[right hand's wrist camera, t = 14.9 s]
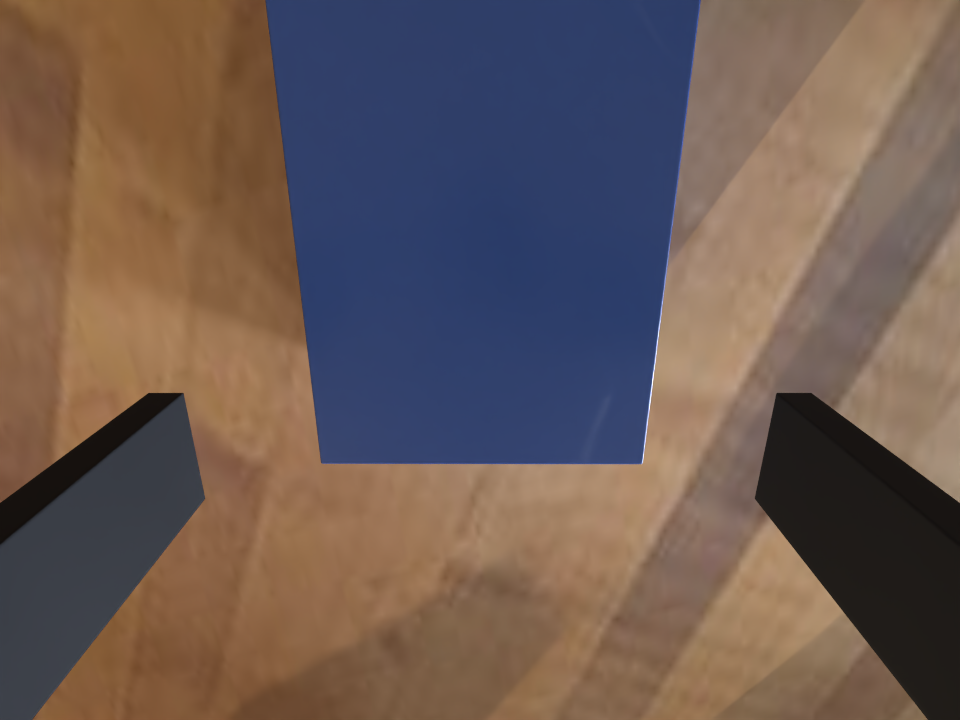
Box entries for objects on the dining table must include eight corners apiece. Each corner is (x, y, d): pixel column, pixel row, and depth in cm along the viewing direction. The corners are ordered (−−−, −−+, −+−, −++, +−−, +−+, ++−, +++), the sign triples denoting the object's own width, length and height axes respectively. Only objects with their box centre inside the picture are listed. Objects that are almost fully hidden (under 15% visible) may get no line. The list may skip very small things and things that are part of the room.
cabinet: (332, -91, 19) (234, -241, 12) (633, -91, 19) (732, -241, 12) (368, 367, 25) (320, 464, 18) (595, 368, 25) (643, 465, 18)
